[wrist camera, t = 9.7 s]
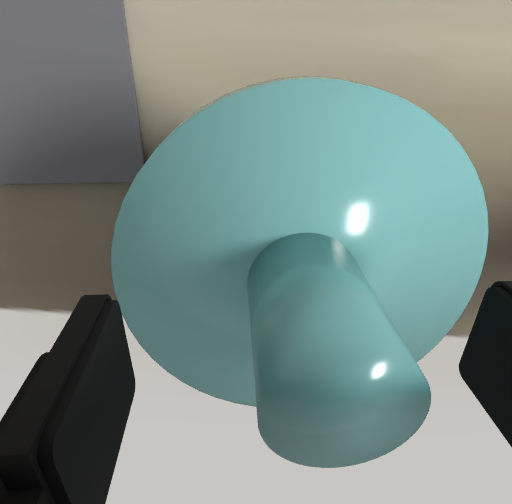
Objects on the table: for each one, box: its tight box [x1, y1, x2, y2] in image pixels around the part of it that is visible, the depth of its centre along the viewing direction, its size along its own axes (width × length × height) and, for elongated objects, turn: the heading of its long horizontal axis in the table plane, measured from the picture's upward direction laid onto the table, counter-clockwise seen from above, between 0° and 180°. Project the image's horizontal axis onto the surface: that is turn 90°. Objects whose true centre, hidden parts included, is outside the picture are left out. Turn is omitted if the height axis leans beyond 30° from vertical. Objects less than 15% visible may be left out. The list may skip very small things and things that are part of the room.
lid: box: [111, 76, 488, 468], centre depth 10 cm, size 12×12×6 cm
